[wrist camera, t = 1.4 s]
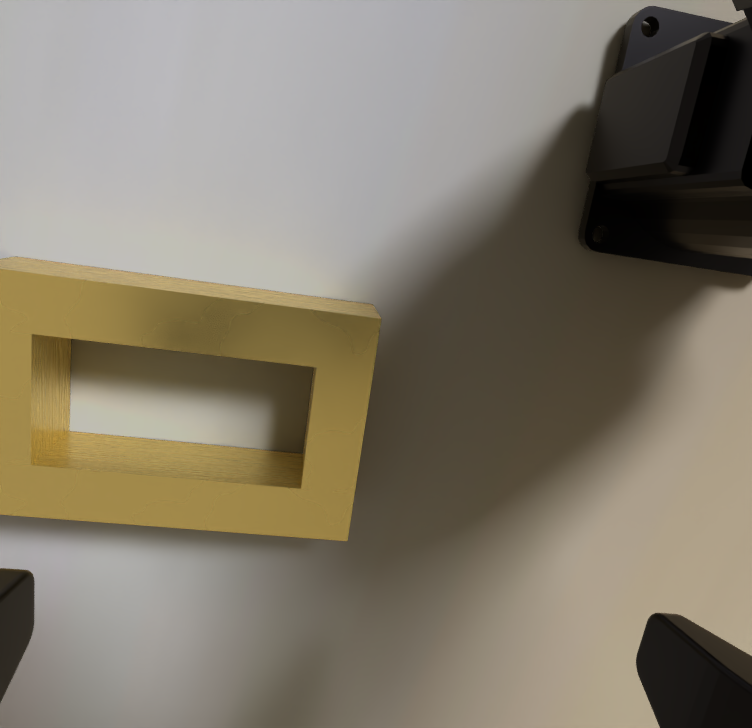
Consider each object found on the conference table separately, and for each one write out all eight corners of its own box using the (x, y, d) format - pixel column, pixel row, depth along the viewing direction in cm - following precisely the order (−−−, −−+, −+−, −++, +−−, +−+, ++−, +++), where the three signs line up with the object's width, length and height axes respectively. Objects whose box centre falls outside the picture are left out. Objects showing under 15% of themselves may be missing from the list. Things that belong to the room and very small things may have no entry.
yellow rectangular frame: (372, 304, 17) (381, 318, 15) (343, 500, 19) (347, 540, 16) (15, 256, 16) (-36, 263, 13) (15, 472, 17) (-30, 512, 15)
